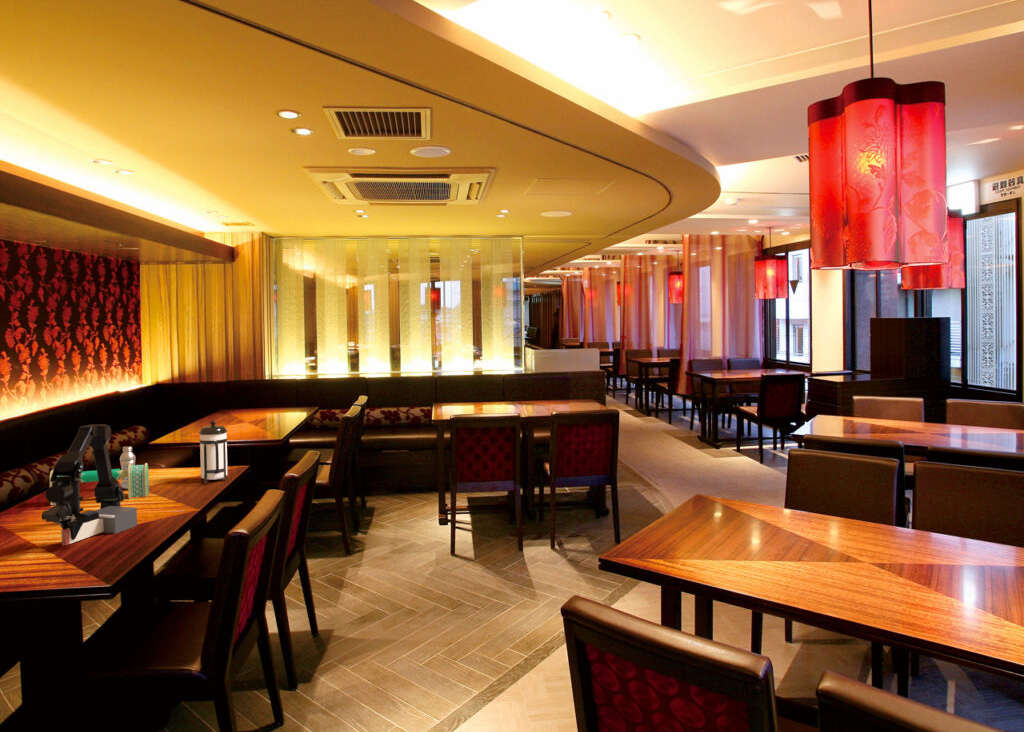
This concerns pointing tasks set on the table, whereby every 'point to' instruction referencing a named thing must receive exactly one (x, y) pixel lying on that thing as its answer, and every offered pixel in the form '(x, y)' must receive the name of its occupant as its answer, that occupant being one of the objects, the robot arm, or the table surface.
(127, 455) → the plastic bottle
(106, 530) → the block
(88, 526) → the white bar pink end
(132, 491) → the decorative scroll
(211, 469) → the coffee press
